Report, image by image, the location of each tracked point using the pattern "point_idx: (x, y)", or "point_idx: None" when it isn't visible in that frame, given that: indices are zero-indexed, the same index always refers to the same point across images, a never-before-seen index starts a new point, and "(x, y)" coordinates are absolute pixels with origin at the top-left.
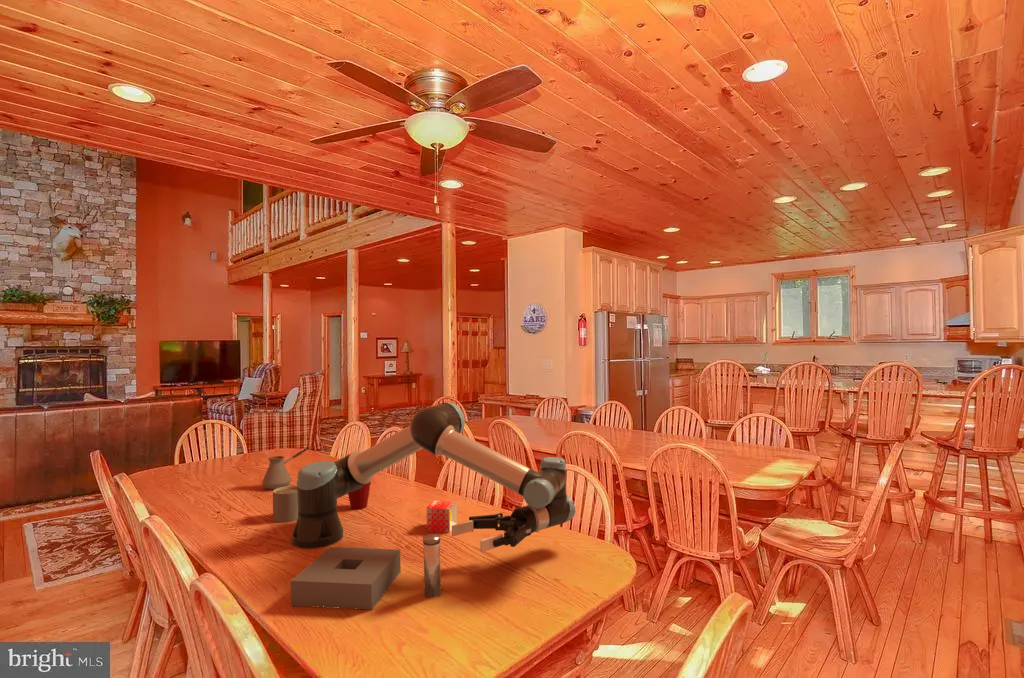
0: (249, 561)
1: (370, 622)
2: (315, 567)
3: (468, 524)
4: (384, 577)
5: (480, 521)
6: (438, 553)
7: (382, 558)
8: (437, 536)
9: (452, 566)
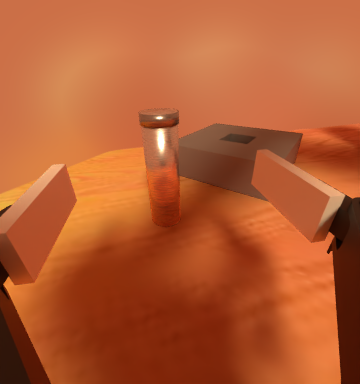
0: (320, 135)
1: (145, 169)
2: (240, 128)
3: (300, 191)
4: (204, 162)
5: (355, 239)
6: (145, 149)
7: (245, 152)
8: (154, 114)
9: (282, 279)
